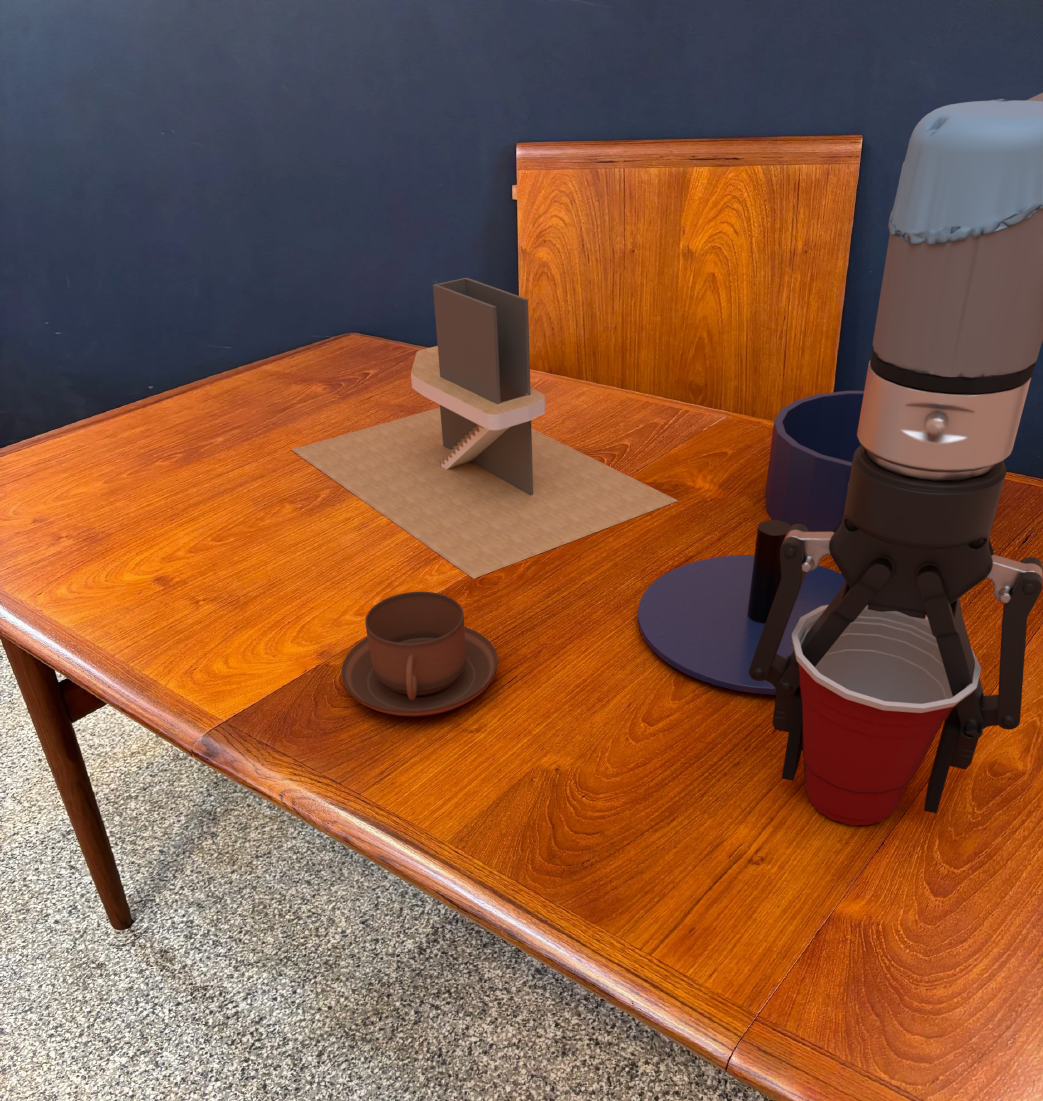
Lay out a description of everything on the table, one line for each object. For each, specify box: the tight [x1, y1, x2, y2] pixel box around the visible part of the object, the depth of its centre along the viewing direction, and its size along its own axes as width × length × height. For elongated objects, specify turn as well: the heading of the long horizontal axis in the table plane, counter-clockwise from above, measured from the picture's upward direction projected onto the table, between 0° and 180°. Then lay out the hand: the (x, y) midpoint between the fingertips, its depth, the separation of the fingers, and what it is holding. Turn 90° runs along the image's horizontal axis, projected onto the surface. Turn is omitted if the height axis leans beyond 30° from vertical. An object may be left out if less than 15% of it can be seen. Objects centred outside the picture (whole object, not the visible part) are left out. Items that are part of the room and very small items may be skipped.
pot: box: [764, 390, 864, 532], centre depth 98 cm, size 20×25×8 cm
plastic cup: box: [792, 605, 982, 826], centre depth 63 cm, size 11×11×12 cm
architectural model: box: [290, 277, 679, 580], centre depth 104 cm, size 38×25×20 cm, turn 36°
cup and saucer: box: [341, 591, 499, 717], centre depth 77 cm, size 12×12×6 cm
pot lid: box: [637, 519, 846, 696], centre depth 81 cm, size 21×21×9 cm
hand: (860, 782), depth 65 cm, fingers closed on plastic cup, 8 cm apart
